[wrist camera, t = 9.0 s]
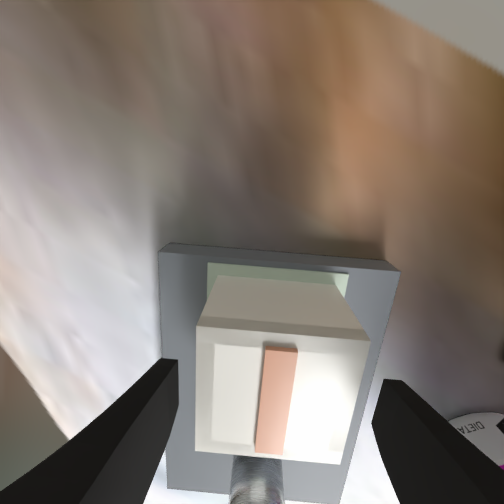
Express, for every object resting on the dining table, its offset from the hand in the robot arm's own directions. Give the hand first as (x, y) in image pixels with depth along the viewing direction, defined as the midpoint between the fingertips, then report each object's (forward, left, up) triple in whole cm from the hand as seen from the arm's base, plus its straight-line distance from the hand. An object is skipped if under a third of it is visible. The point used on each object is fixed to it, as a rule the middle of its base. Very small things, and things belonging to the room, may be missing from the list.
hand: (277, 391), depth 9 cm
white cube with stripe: (0, 0, -4) cm, 4 cm away
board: (0, +5, -5) cm, 7 cm away
